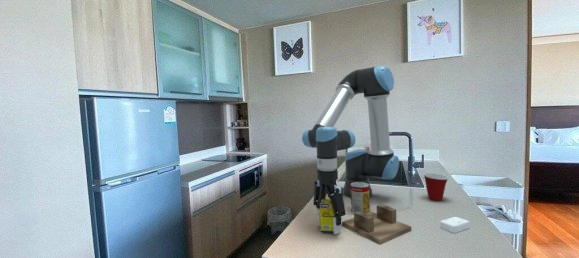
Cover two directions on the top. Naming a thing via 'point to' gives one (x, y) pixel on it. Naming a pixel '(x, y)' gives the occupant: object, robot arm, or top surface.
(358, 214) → the slotted stand
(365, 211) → the canned food
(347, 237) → the top surface
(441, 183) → the plastic cup
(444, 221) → the soap
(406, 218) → the top surface
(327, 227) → the supplement box
